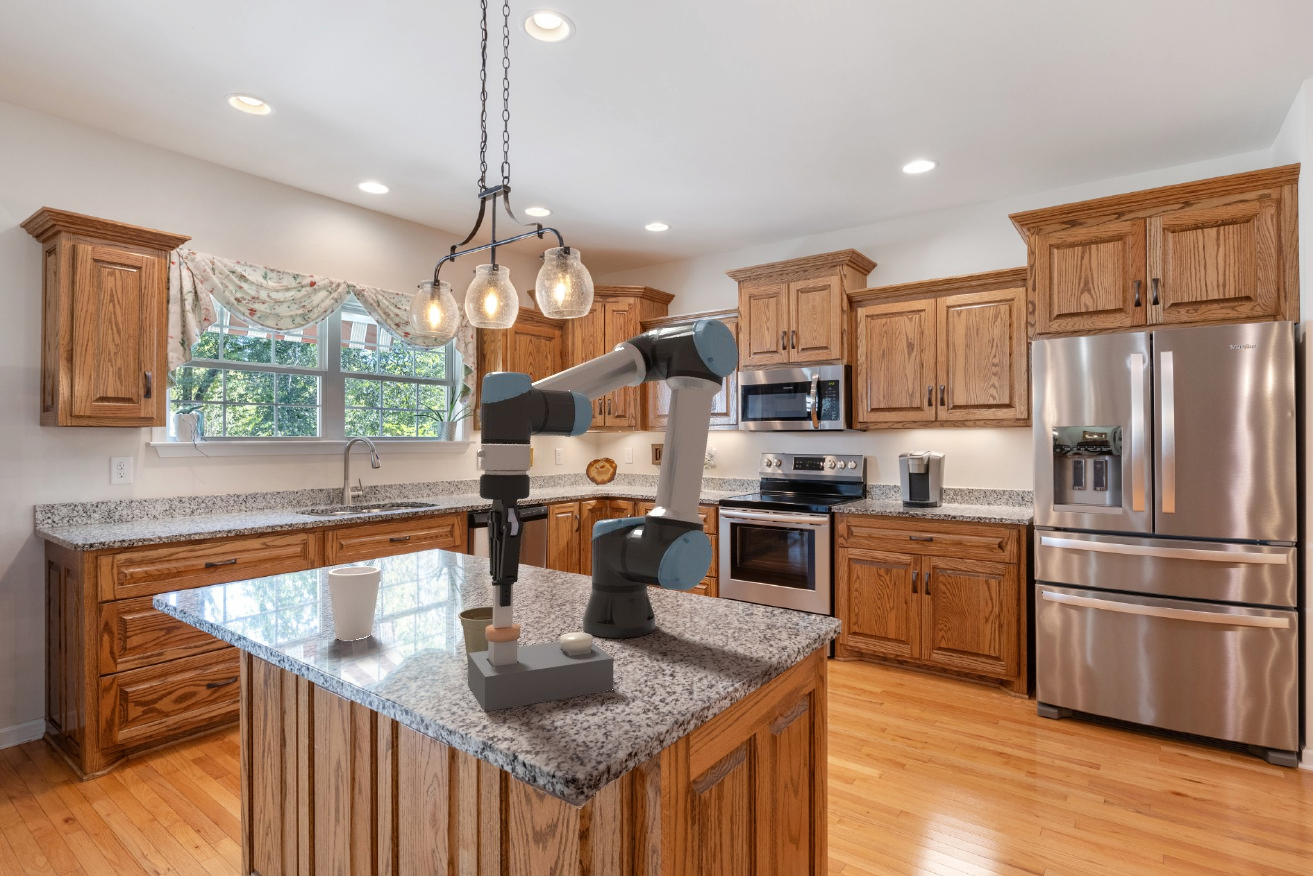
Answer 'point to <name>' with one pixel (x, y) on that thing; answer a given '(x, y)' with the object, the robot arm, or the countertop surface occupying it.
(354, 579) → the foam cup
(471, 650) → the flower pot
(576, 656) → the block
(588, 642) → the cream plunger
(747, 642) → the countertop surface
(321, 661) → the countertop surface
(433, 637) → the countertop surface
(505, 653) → the terracotta plunger
